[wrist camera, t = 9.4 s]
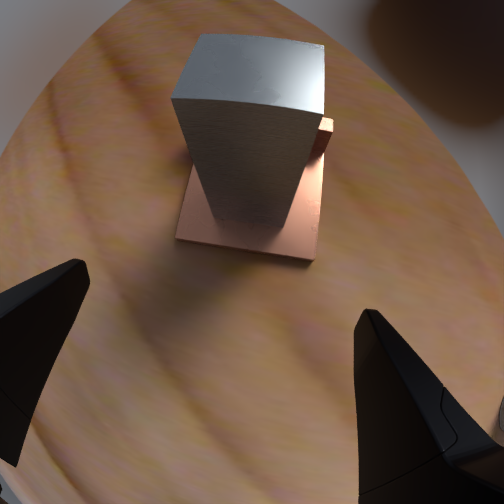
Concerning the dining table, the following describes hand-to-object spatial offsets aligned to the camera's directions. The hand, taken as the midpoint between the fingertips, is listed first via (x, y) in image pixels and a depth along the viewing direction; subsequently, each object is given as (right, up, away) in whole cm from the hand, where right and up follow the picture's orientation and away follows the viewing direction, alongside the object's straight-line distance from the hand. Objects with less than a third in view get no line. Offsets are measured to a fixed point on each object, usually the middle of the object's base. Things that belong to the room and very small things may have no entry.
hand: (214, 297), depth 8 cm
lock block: (+1, +5, +13) cm, 14 cm away
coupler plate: (+1, +6, +14) cm, 15 cm away
